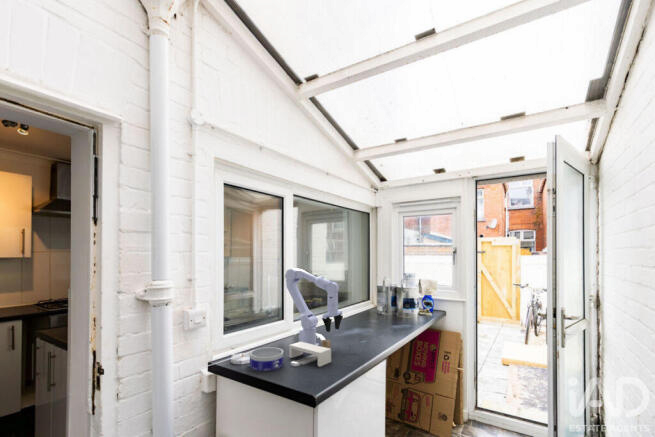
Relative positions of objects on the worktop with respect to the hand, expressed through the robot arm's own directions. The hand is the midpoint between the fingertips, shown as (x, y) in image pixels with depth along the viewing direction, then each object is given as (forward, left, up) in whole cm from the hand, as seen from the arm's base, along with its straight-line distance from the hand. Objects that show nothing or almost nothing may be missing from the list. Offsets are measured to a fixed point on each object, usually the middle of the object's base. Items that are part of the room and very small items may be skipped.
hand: (332, 330), depth 175 cm
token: (+3, -31, -10) cm, 33 cm away
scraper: (+3, -19, -9) cm, 21 cm away
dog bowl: (-7, -40, -10) cm, 42 cm away
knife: (-24, +14, -10) cm, 29 cm away
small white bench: (+3, -22, -9) cm, 24 cm away
